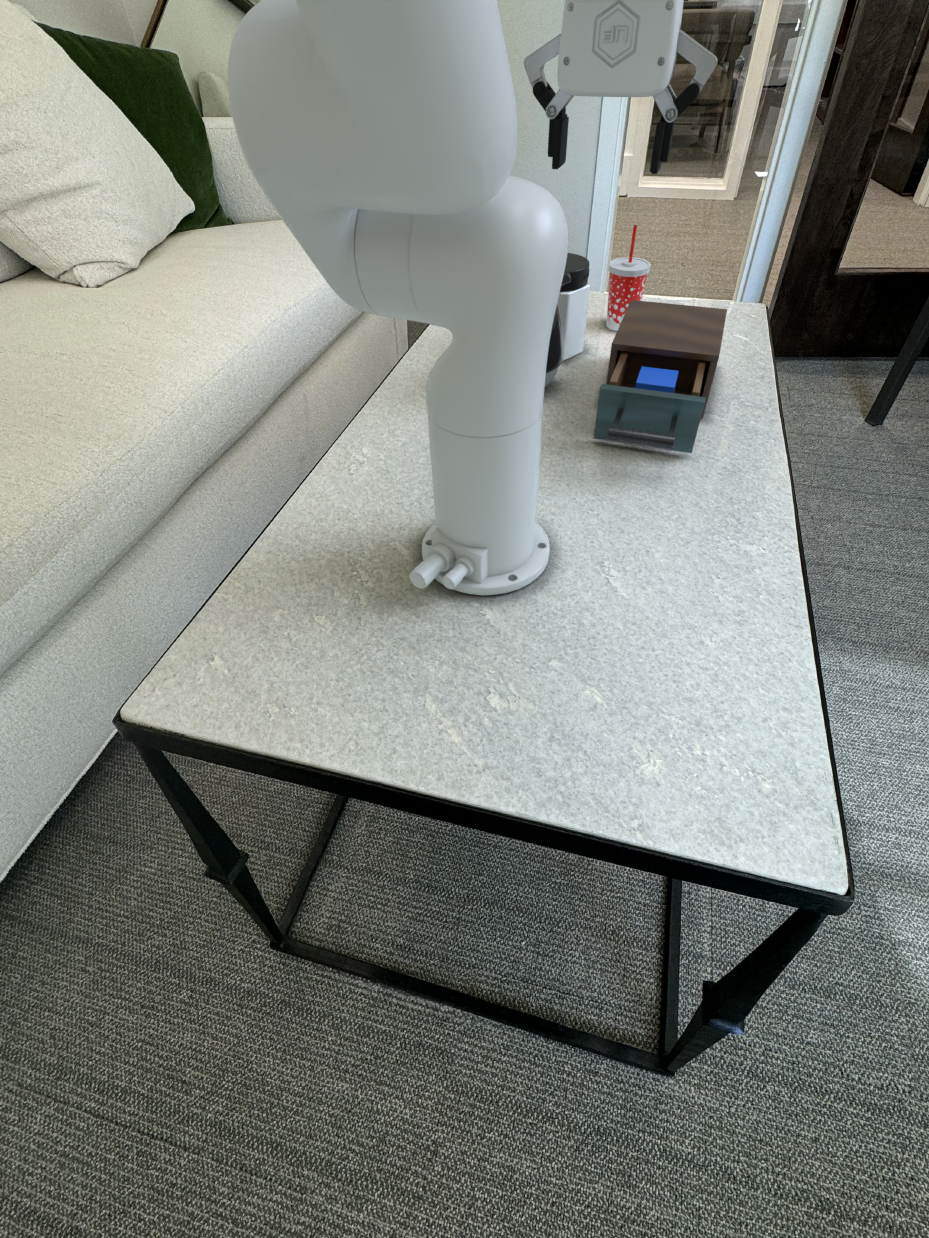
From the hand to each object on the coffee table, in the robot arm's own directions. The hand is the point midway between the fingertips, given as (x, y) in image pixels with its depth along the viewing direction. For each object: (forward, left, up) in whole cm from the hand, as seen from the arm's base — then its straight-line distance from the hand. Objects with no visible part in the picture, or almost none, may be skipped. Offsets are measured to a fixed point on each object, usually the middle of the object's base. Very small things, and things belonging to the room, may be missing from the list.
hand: (606, 168), depth 64 cm
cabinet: (+12, -6, -26) cm, 30 cm away
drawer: (-1, -10, -25) cm, 27 cm away
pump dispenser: (+3, +10, -26) cm, 28 cm away
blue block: (+2, -9, -24) cm, 26 cm away
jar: (+15, +12, -26) cm, 33 cm away
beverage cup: (+28, +7, -26) cm, 39 cm away
